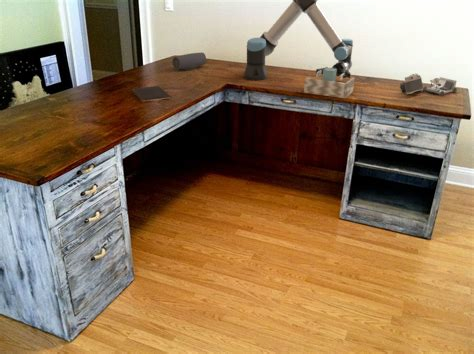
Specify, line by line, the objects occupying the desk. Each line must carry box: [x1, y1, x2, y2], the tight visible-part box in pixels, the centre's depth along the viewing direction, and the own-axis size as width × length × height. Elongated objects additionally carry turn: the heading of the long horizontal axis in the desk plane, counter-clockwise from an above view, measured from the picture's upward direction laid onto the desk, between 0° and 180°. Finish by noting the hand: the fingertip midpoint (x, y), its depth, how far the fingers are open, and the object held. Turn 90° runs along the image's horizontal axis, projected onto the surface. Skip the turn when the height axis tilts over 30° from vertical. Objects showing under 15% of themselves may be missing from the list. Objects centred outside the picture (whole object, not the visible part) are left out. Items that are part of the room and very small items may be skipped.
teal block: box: [321, 67, 337, 82], centre depth 245 cm, size 6×6×12 cm
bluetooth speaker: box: [172, 52, 207, 71], centre depth 296 cm, size 23×9×10 cm, turn 133°
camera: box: [399, 73, 424, 95], centre depth 249 cm, size 9×16×10 cm, turn 134°
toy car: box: [422, 76, 458, 97], centre depth 249 cm, size 18×10×12 cm
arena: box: [303, 76, 356, 99], centre depth 248 cm, size 24×16×8 cm, turn 62°
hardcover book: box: [131, 85, 172, 101], centre depth 240 cm, size 16×23×2 cm
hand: (328, 76), depth 243 cm, fingers open, 13 cm apart
